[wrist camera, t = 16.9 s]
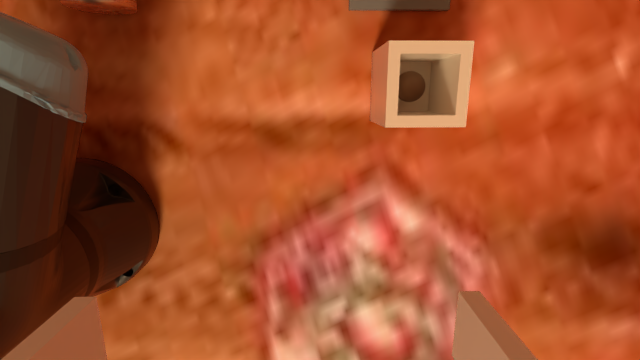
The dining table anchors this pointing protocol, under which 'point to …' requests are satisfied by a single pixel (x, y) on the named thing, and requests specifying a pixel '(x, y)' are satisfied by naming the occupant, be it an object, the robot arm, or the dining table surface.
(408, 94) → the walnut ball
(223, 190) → the dining table surface
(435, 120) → the cup
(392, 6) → the felt pad
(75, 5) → the silver round cylinder
